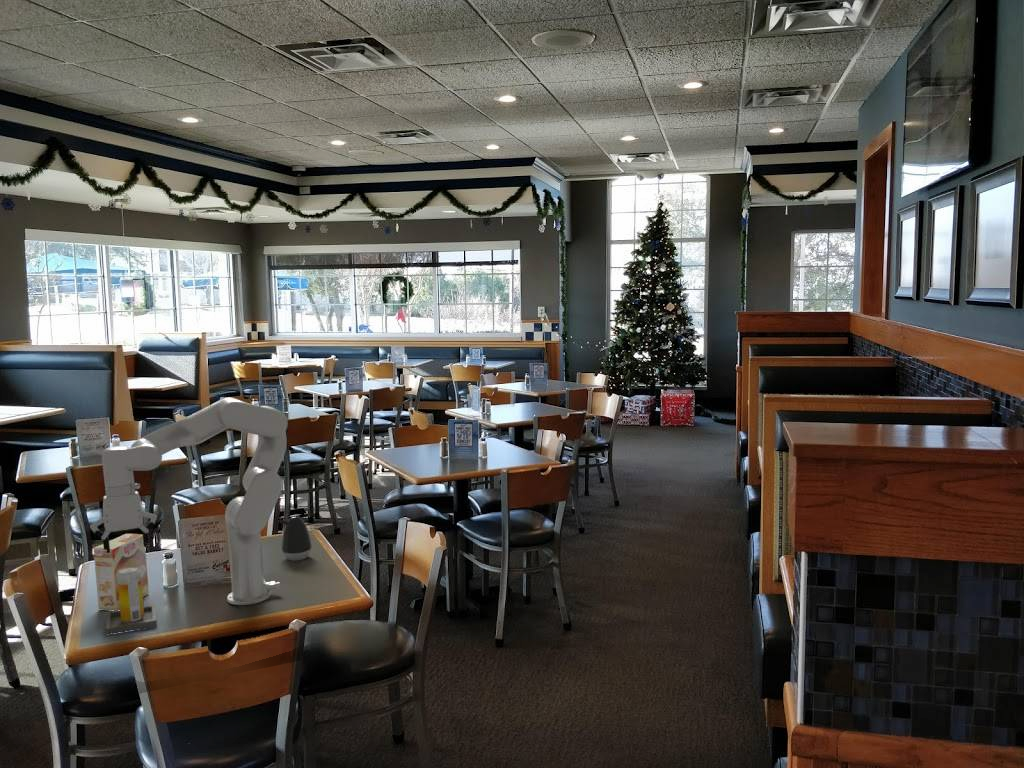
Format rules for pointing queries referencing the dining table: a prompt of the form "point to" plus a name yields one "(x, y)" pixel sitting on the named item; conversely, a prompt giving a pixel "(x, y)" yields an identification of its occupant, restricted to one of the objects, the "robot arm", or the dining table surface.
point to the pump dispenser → (295, 539)
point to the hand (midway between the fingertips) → (127, 548)
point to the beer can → (130, 595)
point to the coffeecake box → (118, 567)
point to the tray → (117, 625)
